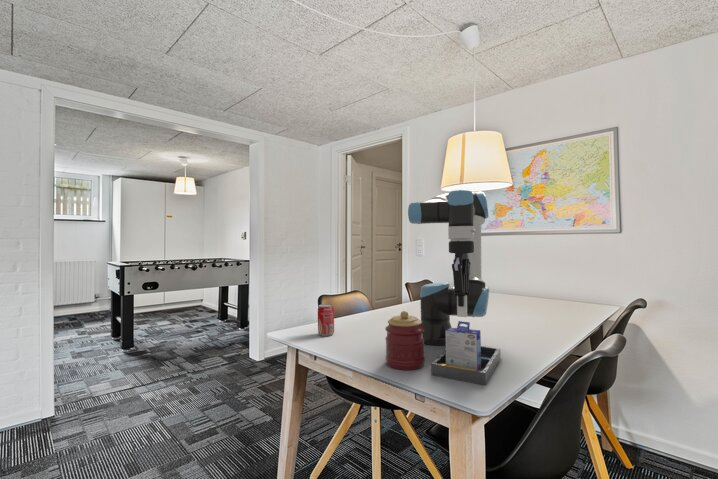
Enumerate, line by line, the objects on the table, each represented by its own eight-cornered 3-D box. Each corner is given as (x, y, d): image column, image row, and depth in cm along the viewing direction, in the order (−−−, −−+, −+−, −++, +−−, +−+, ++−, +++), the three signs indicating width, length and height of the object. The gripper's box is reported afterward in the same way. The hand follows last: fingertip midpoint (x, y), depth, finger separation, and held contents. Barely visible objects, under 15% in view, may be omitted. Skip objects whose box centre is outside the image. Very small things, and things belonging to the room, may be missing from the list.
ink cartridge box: (482, 369, 111) (481, 322, 111) (478, 375, 106) (477, 326, 106) (450, 363, 116) (449, 319, 116) (445, 369, 111) (444, 322, 111)
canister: (425, 371, 112) (424, 315, 112) (383, 369, 114) (383, 314, 114) (424, 358, 125) (423, 307, 125) (387, 356, 127) (386, 307, 127)
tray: (431, 375, 109) (431, 363, 109) (454, 351, 131) (454, 341, 131) (485, 385, 101) (485, 372, 101) (500, 358, 123) (500, 348, 123)
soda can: (337, 333, 158) (337, 304, 158) (327, 337, 152) (327, 307, 152) (324, 331, 162) (324, 303, 162) (314, 335, 156) (314, 305, 156)
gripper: (468, 240, 103) (469, 322, 103) (478, 240, 114) (479, 313, 114) (442, 240, 107) (443, 319, 107) (454, 240, 118) (456, 311, 118)
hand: (462, 316), depth 111 cm, fingers closed
